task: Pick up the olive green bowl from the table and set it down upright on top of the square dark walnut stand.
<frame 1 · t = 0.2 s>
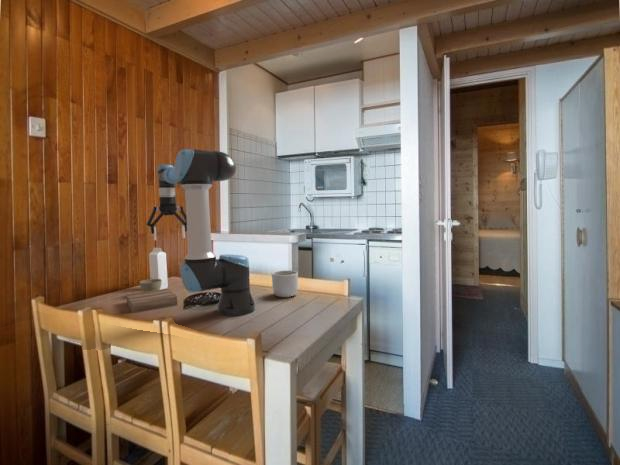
hand: (169, 239, 177), 27 cm above the table, tool pointing down, fingers open, 13 cm apart
stand: (151, 304, 158), on the table
milk: (159, 288, 188), on the table
planter: (285, 295, 168), on the table
olive green bowl: (151, 295, 175), on the table
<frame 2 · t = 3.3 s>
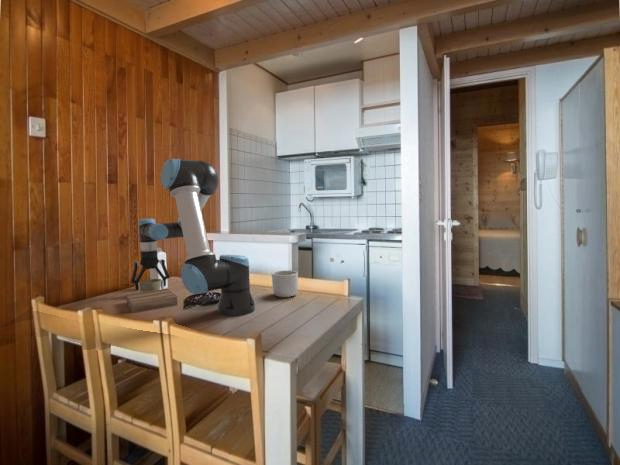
hand: (151, 294, 175), 0 cm above the table, tool pointing down, fingers open, 10 cm apart
olive green bowl: (151, 295, 175), on the table, touching gripper
everything else where it was.
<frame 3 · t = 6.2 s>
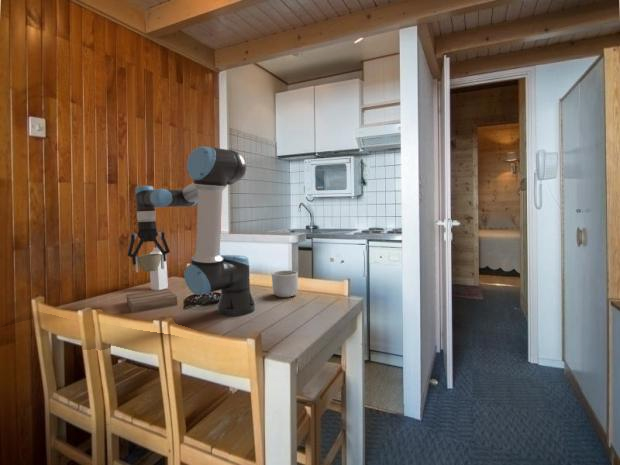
hand: (150, 270, 158), 15 cm above the table, tool pointing down, fingers closed on olive green bowl, 10 cm apart
olive green bowl: (150, 271, 158), point 15 cm above the table, touching gripper
everything else where it was.
when the fingers open (6 cm above the table, at t = 8.7 s): olive green bowl drops 2 cm, resting on stand.
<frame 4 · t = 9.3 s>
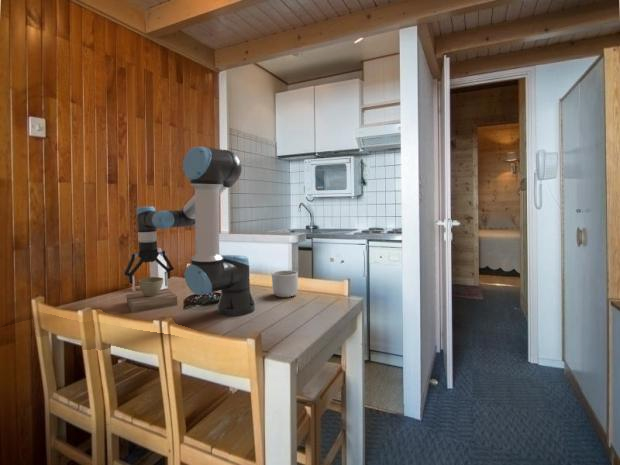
hand: (150, 288, 158), 7 cm above the table, tool pointing down, fingers open, 13 cm apart
olive green bowl: (151, 295, 158), point 4 cm above the table, touching stand
everything else where it was.
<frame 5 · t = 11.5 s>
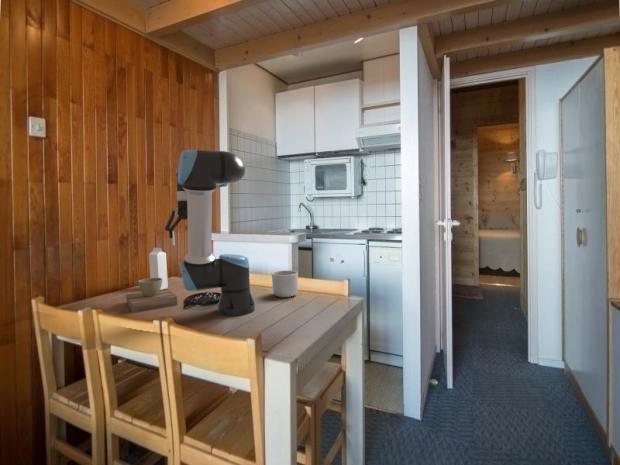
hand: (187, 243, 172), 25 cm above the table, tool pointing down, fingers open, 13 cm apart
nothing on the table moved.
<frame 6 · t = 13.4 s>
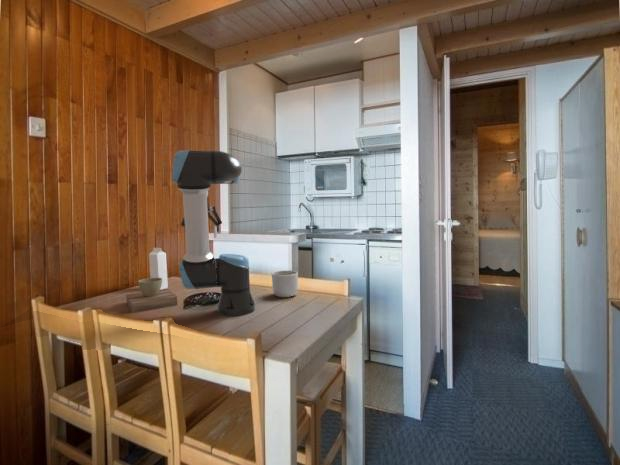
hand: (202, 239, 178), 27 cm above the table, tool pointing down, fingers open, 13 cm apart
nothing on the table moved.
at the end: olive green bowl inside the target area on the stand (0.3 cm from its centre), point 3.8 cm above the stand's base; olive green bowl tilted 0°; the gripper is holding nothing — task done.
